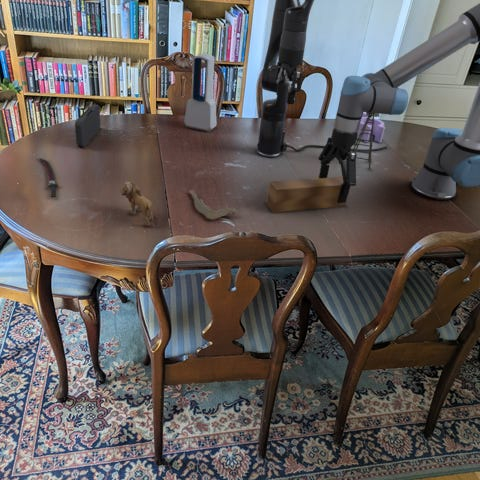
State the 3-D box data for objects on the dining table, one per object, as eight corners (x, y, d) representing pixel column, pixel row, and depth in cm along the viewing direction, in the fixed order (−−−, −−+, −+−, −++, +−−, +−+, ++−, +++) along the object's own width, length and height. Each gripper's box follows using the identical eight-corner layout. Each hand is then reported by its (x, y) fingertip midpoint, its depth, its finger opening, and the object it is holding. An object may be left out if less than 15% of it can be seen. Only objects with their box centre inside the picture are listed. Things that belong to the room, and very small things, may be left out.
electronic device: (216, 128, 205) (221, 56, 188) (210, 133, 198) (214, 59, 182) (190, 122, 207) (193, 51, 191) (183, 127, 201) (185, 54, 185)
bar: (272, 212, 146) (276, 189, 141) (266, 204, 150) (269, 181, 146) (344, 206, 154) (349, 184, 149) (336, 198, 158) (341, 176, 154)
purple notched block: (343, 126, 223) (346, 112, 219) (367, 127, 225) (371, 113, 221) (360, 142, 206) (364, 127, 202) (386, 142, 209) (390, 127, 205)
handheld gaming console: (94, 127, 192) (92, 103, 187) (101, 127, 192) (99, 103, 187) (76, 147, 173) (73, 121, 167) (83, 148, 173) (80, 122, 167)
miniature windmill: (370, 170, 181) (390, 92, 164) (348, 166, 182) (366, 88, 166) (369, 161, 188) (389, 86, 172) (348, 157, 189) (366, 82, 173)
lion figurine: (118, 210, 138) (116, 182, 133) (132, 204, 141) (131, 177, 137) (151, 229, 130) (150, 201, 126) (165, 223, 134) (165, 195, 129)
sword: (61, 197, 141) (61, 193, 140) (50, 198, 139) (50, 194, 139) (49, 160, 164) (48, 156, 163) (39, 160, 163) (39, 157, 162)
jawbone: (218, 227, 136) (218, 221, 134) (170, 202, 146) (169, 197, 145) (238, 214, 141) (238, 209, 140) (190, 191, 152) (190, 186, 151)
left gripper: (313, 51, 136) (304, 106, 145) (294, 41, 148) (286, 93, 156) (290, 51, 134) (282, 107, 143) (272, 41, 145) (265, 93, 154)
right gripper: (379, 145, 132) (360, 210, 144) (336, 116, 152) (323, 175, 163) (356, 146, 130) (339, 212, 141) (316, 116, 149) (304, 176, 161)
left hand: (284, 99), depth 150 cm, fingers open, 8 cm apart
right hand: (331, 192), depth 152 cm, fingers open, 13 cm apart
